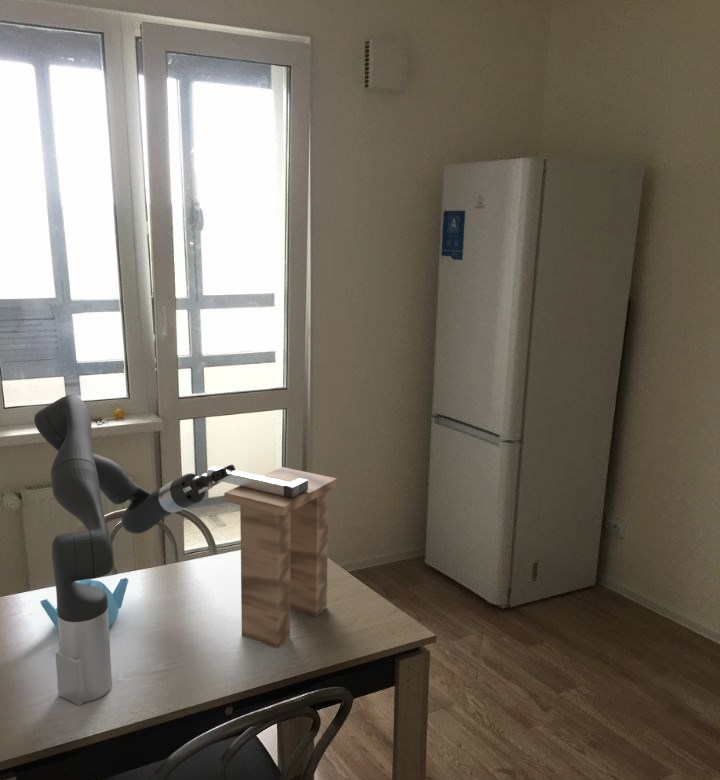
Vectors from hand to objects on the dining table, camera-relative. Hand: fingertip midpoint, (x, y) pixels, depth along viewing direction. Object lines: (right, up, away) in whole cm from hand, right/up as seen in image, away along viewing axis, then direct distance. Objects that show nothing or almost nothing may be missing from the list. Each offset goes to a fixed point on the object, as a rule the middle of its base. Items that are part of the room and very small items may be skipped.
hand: (229, 470), depth 163 cm
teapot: (-34, -37, +3) cm, 50 cm away
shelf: (+12, -37, +6) cm, 39 cm away
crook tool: (+6, -3, -1) cm, 7 cm away
